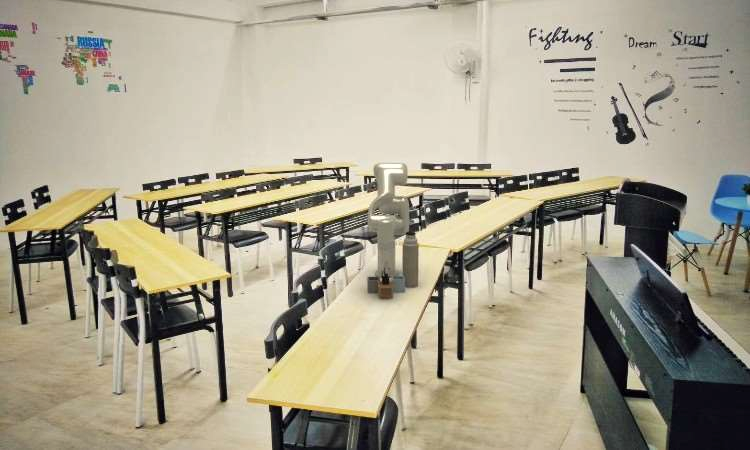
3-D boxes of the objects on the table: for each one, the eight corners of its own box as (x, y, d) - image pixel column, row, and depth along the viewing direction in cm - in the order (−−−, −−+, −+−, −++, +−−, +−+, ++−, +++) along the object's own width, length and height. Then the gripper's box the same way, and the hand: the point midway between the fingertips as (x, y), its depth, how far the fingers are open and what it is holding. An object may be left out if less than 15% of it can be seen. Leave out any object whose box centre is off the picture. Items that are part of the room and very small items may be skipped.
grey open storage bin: (367, 290, 267) (367, 276, 265) (379, 289, 267) (379, 276, 266) (367, 294, 261) (367, 280, 259) (380, 294, 261) (380, 280, 260)
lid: (377, 283, 258) (377, 271, 257) (391, 282, 259) (392, 270, 258) (378, 288, 252) (378, 275, 250) (393, 287, 252) (393, 275, 251)
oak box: (378, 295, 260) (378, 283, 258) (391, 295, 260) (391, 283, 259) (379, 300, 253) (379, 288, 252) (392, 299, 254) (392, 287, 252)
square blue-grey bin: (391, 289, 268) (391, 276, 266) (403, 289, 268) (403, 275, 267) (392, 293, 262) (392, 279, 260) (404, 293, 262) (405, 279, 261)
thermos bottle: (418, 284, 275) (419, 230, 269) (416, 289, 268) (417, 234, 261) (403, 283, 277) (403, 230, 271) (401, 288, 269) (401, 233, 263)
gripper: (376, 241, 259) (376, 277, 263) (378, 250, 243) (379, 288, 247) (391, 240, 259) (391, 277, 263) (395, 249, 243) (395, 288, 247)
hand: (385, 282), depth 255 cm, fingers closed on lid, 2 cm apart
